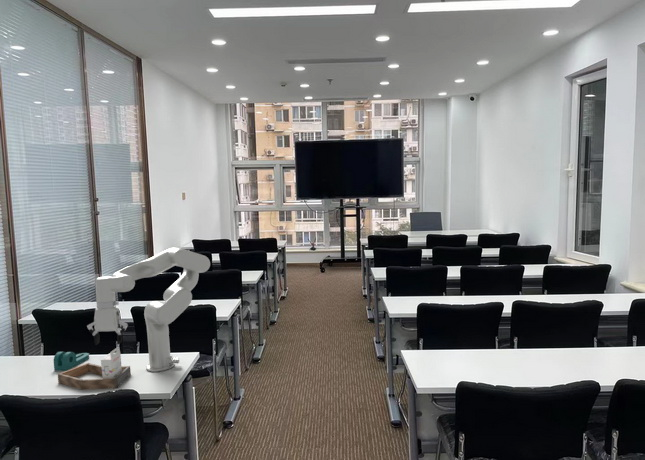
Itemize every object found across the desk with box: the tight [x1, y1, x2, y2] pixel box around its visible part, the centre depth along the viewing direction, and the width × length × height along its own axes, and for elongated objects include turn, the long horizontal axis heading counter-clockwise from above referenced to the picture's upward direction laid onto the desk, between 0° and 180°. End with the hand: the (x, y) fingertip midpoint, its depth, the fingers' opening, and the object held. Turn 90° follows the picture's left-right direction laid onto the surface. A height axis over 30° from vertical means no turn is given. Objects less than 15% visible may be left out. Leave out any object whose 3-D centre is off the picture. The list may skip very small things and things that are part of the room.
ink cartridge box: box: [100, 346, 123, 379], centre depth 201 cm, size 9×5×15 cm, turn 179°
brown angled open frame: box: [57, 362, 132, 391], centre depth 204 cm, size 30×21×4 cm
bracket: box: [53, 351, 90, 372], centre depth 226 cm, size 18×7×8 cm, turn 170°
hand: (108, 343), depth 200 cm, fingers open, 9 cm apart
